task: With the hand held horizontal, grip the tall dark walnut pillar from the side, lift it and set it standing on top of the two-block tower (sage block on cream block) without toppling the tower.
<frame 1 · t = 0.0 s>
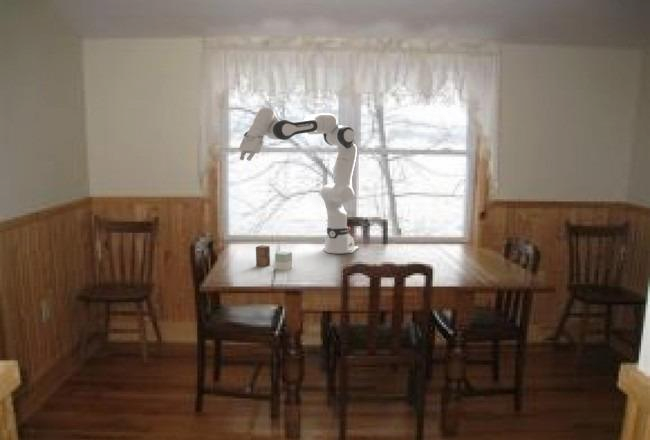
hand: (244, 159, 281), 54 cm above the table, tool tilted 30°, fingers open, 8 cm apart
tower mid: (283, 260, 275), point 4 cm above the table, touching tower base
walnut pillar: (263, 265, 282), on the table
tower base: (283, 268, 276), on the table, touching tower mid
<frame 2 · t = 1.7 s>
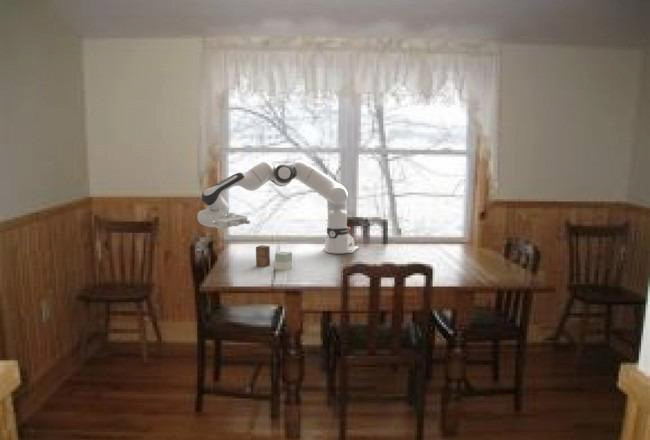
hand: (243, 223, 285), 21 cm above the table, tool horizontal, fingers open, 8 cm apart
nothing on the table moved.
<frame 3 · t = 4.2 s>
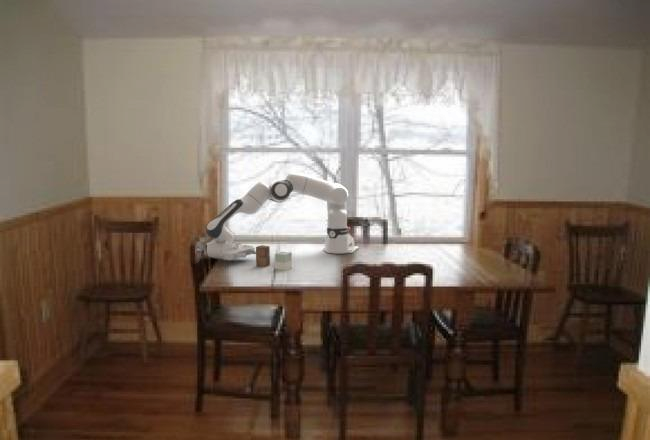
hand: (250, 254, 286), 5 cm above the table, tool horizontal, fingers open, 8 cm apart
tower mid: (283, 260, 275), point 4 cm above the table
tower base: (283, 268, 276), on the table
everything else where it was.
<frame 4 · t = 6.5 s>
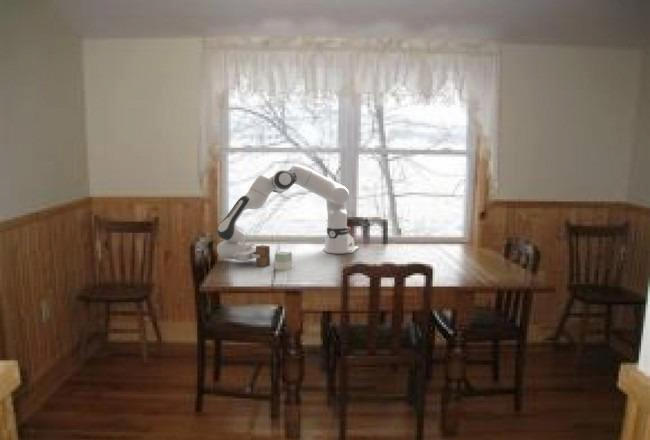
hand: (264, 255, 281), 6 cm above the table, tool horizontal, fingers closed on walnut pillar, 5 cm apart
tower mid: (283, 260, 275), point 4 cm above the table, touching tower base
walnut pillar: (263, 265, 282), on the table, touching gripper
tower base: (283, 268, 276), on the table, touching tower mid
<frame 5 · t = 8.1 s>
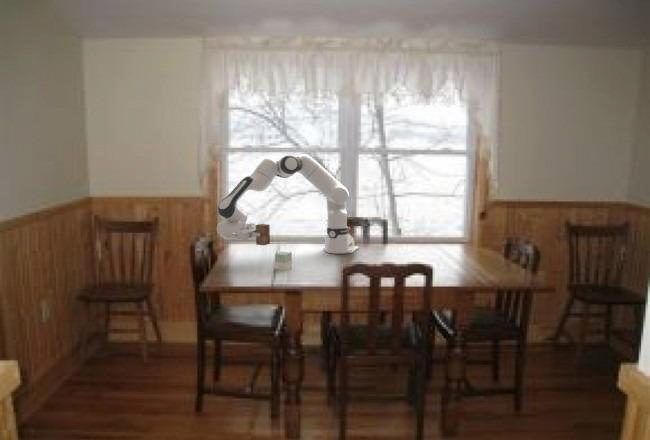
hand: (264, 233, 279), 17 cm above the table, tool horizontal, fingers closed on walnut pillar, 5 cm apart
walnut pillar: (263, 244, 281), point 11 cm above the table, touching gripper
everything else where it was.
when the fingers open (14 cm above the table, at t = 9.9 s): walnut pillar stays where it is, resting on tower mid.
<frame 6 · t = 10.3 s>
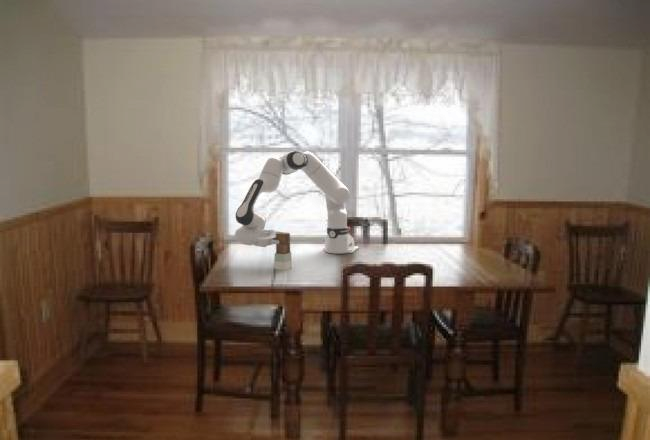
hand: (284, 240, 273), 14 cm above the table, tool horizontal, fingers open, 8 cm apart
tower mid: (283, 260, 275), point 4 cm above the table, touching tower base, walnut pillar
walnut pillar: (283, 252, 275), point 8 cm above the table, touching tower mid
everything else where it was.
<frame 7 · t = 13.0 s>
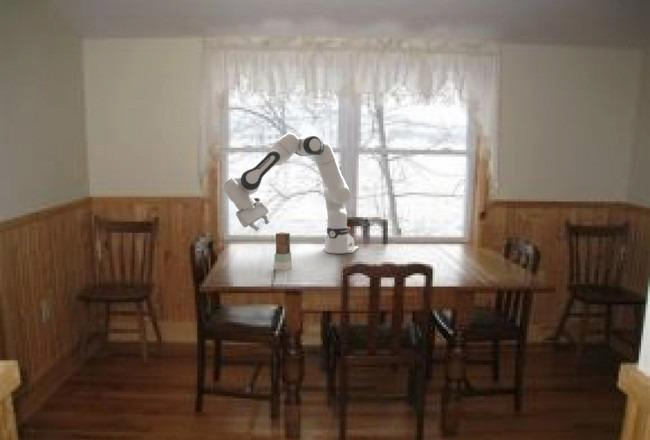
hand: (263, 226, 285), 19 cm above the table, tool tilted 40°, fingers open, 8 cm apart
nothing on the table moved.
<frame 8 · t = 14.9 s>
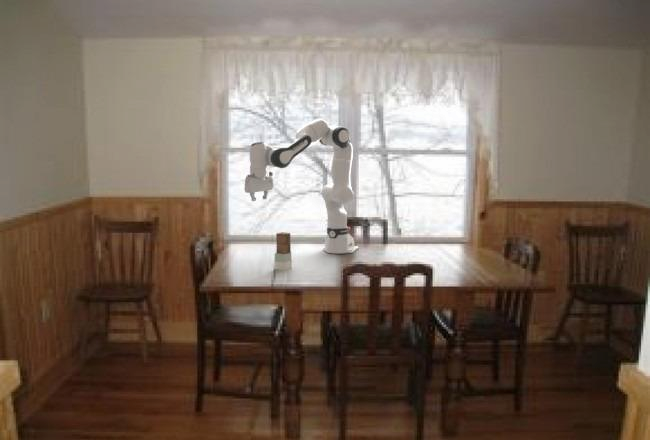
hand: (259, 200, 286), 33 cm above the table, tool pointing down, fingers open, 8 cm apart
nothing on the table moved.
at the end: walnut pillar 0.2 cm off-centre on the tower base, point 8.0 cm above the tower base's base; walnut pillar tilted 0°; tower mid 0.2 cm off-centre on the tower base, point 4.0 cm above the tower base's base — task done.
